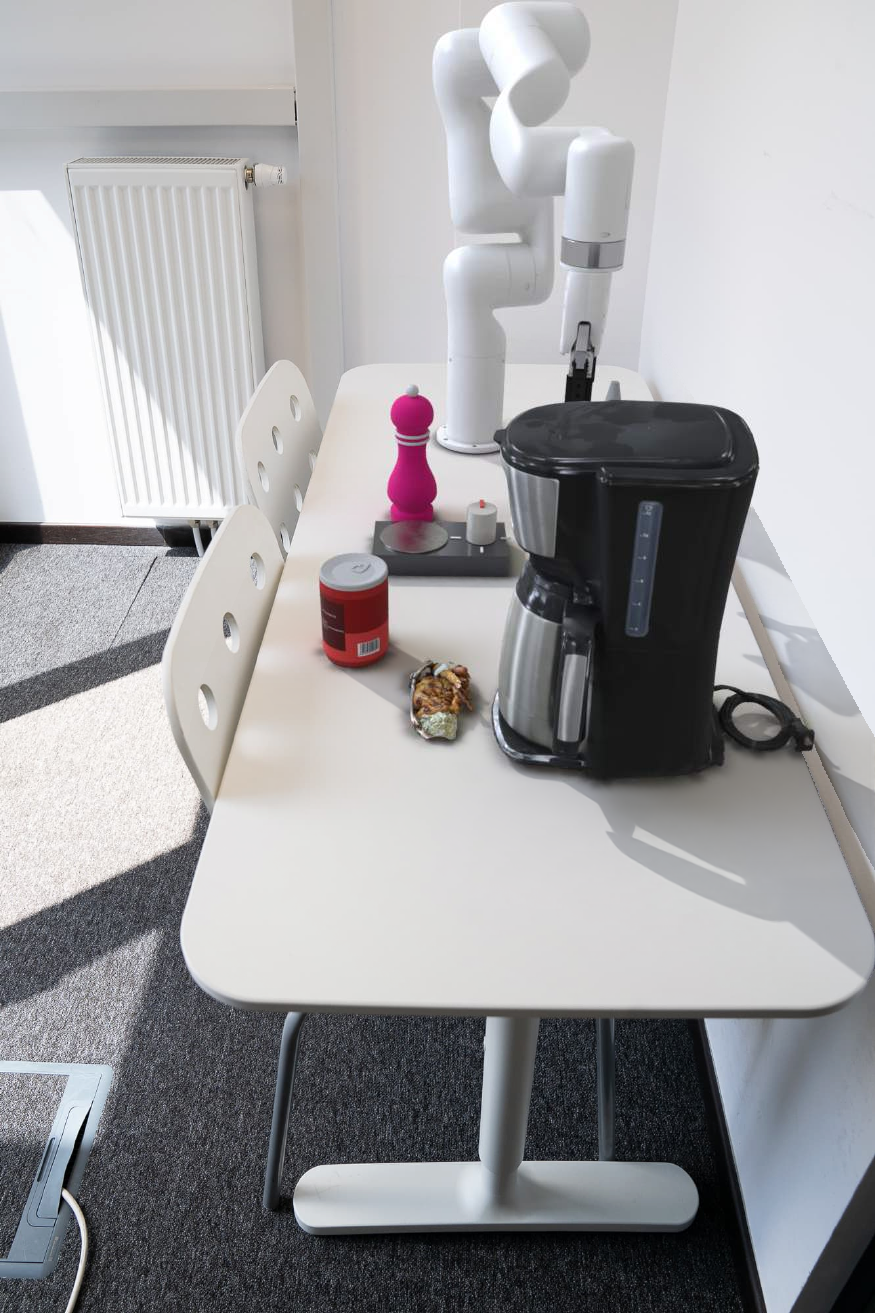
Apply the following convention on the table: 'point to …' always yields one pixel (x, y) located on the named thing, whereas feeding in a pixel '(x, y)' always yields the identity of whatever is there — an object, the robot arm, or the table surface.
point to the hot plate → (448, 554)
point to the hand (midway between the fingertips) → (579, 394)
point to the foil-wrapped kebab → (438, 698)
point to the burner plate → (414, 537)
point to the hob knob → (481, 523)
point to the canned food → (354, 609)
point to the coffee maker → (625, 587)
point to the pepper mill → (412, 459)
